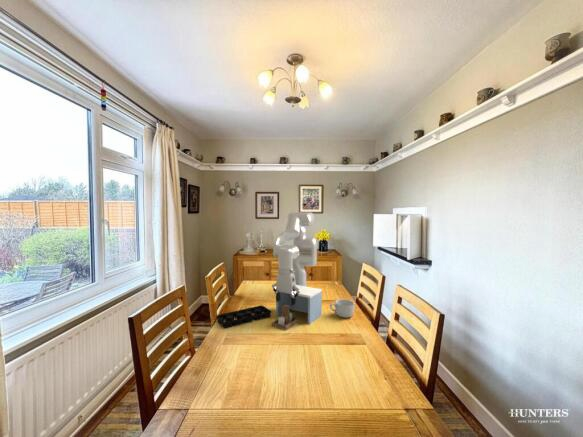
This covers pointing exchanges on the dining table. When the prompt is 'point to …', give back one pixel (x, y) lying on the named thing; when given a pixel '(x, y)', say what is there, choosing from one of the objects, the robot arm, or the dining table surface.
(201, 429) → the dining table surface
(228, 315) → the egg carton
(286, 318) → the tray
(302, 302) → the white step stool
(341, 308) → the teacup
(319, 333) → the dining table surface
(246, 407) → the dining table surface
